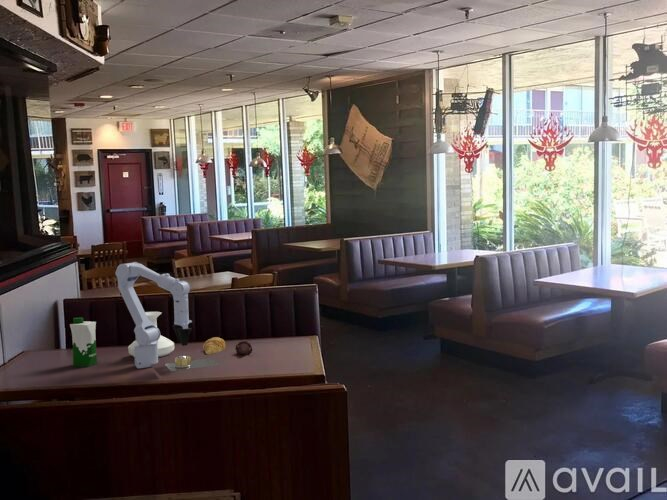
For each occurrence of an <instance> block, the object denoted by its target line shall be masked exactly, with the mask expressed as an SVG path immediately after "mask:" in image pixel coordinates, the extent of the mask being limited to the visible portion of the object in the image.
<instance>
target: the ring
mask: <svg viewBox="0 0 667 500" xmlns="http://www.w3.org/2000/svg"><path fill="white" fill-rule="evenodd" d="M185 356H186V358H185V359H179V356H176V357H174V363H175V365H176V366H179V367H183V366H189V365H191V361H192V360H191V358H192V357H191V356H190V355H185Z"/></svg>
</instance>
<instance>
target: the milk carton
mask: <svg viewBox="0 0 667 500" xmlns="http://www.w3.org/2000/svg"><path fill="white" fill-rule="evenodd" d="M96 324H97V321H90V320H89V321H87V320H86V321H84V317H81V316H80V317H73V322H72V323H70V324H69V327H70V330H71V340H72V367H78V368H79V367H80V368H81V367H82V368H83V367H91V366H94V365H95V364H97V363H98V357H97V356H98V355H97V341H96V340H97V339H96V329H97V328H96V327H97V325H96Z"/></svg>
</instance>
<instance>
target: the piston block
mask: <svg viewBox="0 0 667 500" xmlns="http://www.w3.org/2000/svg"><path fill="white" fill-rule="evenodd" d="M186 356H187V355H180V356H178V357H179V359H185V358H186ZM164 365H165V367H167V369H168V370H169V371H170V372H175V371H182V370H185V371H186V370H190V369H199V368H207V367H214V366H221V364H220V363H219V362H218V361H216V360H215V359H214V358H212V357H211V358H203V359H194V360H191V365H189V366H183V367H179V366H176V365H175V362H169V363H164Z"/></svg>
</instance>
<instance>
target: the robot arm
mask: <svg viewBox="0 0 667 500" xmlns="http://www.w3.org/2000/svg"><path fill="white" fill-rule="evenodd" d="M114 274H115V276H116V278H117V287H118V288H117V289H118V290H119V292H120V294H121V297H122V299H123V300H124V303H125V305H126V307H127V310H128V311H129V313H130V316H131V317H132V320H133V322H134V325H135V327H134V329H133V333H134V334H135V341H137V343H138V344H139V345H138V346H135V347H134V357H133V358H134V366H135V368H137V369H145V368H152V367H153V365H155V364H158V363H159V357H158V346H157V343H158V339H159V338H160V335H161V331H160V329H159V328H158V326H157V327H156V326H155V325H154V323H153V322H151V321H150V320H148V318H147V316H146V313H145V312H146V311H145V309H144V307H143V305H142V303H141V301H140V299H139V297H138V295H137V293H136V291H135V288H134V284H135V282H136V281H137V280H138V278H139V277H143V278H146V279H148V280H150V281H153V282H155V283H156V284H157V286H158V287H159V288H162V289H164V290H166V291H168V292H170V293H171V295H172V298H173V309H174V310H173V313H174V315H173V316H174V321H173V323H174V324H173V325H172V327H173V330H174V332H175V335H176V339H177V342H178V343H181V346H183V347H184V346H188V343H189V339H190V334H191V332H192V328H191V327H189V324H191V323H193V320H191V319H190V318H189V316H190V314H189V313H190V312H189V293H190V292H191V285H190V283H189V282H188V281H186V280H180V278H175V277H172V276H171V275H170V273H162V274H161V273H157V272H156V271H154V270H152V269H150V268H148V267H147V266H145V265H143V263H139V262H137V261H132V262H128V263H120V264H119V265H118V266H117V268H116V270H115V273H114Z"/></svg>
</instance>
